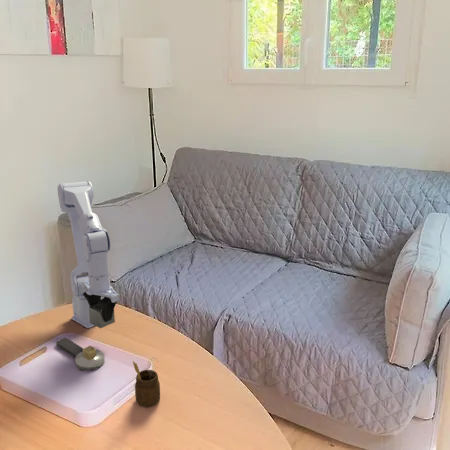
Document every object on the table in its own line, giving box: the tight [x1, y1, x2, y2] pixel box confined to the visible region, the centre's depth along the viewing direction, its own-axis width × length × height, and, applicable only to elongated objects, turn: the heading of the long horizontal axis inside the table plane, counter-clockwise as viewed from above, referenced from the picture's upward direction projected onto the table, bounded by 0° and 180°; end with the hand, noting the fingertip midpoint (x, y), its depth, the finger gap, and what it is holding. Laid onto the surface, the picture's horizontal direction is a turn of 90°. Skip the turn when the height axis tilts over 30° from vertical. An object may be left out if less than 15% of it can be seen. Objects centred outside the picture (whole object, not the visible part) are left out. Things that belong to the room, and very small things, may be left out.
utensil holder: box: [132, 356, 161, 408], centre depth 122 cm, size 6×6×12 cm
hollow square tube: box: [89, 303, 116, 329], centre depth 145 cm, size 5×5×5 cm
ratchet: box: [55, 337, 105, 372], centre depth 141 cm, size 18×8×4 cm, turn 48°
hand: (102, 317), depth 146 cm, fingers closed on hollow square tube, 5 cm apart
